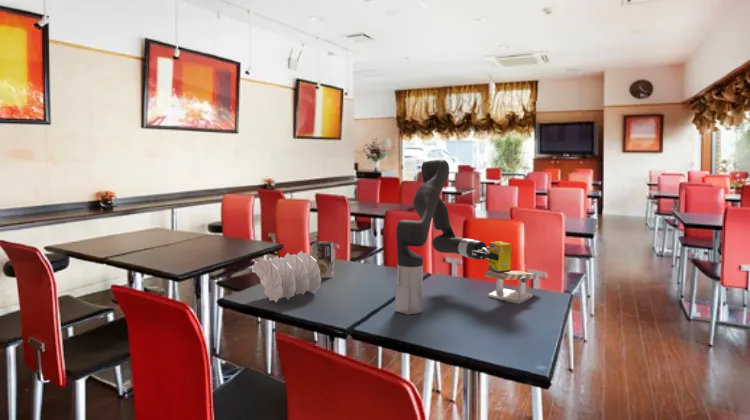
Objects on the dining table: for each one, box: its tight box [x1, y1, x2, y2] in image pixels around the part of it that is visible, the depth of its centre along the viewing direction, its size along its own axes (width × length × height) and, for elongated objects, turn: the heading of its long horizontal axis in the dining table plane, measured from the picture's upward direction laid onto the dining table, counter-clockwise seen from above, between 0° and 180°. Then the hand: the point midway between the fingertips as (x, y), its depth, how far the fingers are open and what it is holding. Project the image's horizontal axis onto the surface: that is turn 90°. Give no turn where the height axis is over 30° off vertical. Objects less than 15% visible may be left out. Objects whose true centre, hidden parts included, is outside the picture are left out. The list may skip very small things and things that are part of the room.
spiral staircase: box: [252, 250, 322, 303], centre depth 186 cm, size 18×18×25 cm
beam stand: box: [488, 276, 533, 305], centre depth 187 cm, size 12×13×9 cm
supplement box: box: [487, 240, 512, 273], centre depth 179 cm, size 6×6×11 cm
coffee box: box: [311, 240, 335, 279], centre depth 218 cm, size 9×6×16 cm
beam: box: [484, 270, 537, 281], centre depth 187 cm, size 28×8×2 cm, turn 137°
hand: (504, 256), depth 177 cm, fingers closed on supplement box, 6 cm apart
